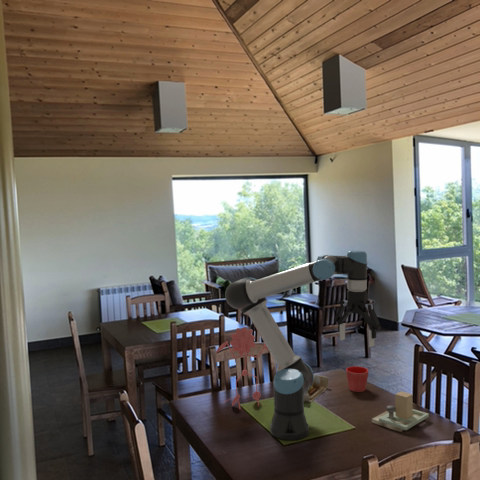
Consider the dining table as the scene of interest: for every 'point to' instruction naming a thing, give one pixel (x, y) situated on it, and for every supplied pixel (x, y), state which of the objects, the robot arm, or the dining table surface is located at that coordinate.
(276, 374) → the robot arm
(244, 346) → the pink tall branching figurine
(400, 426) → the upright block on base
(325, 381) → the toy food set
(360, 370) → the flower pot
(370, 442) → the dining table surface
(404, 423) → the board
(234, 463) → the dining table surface
